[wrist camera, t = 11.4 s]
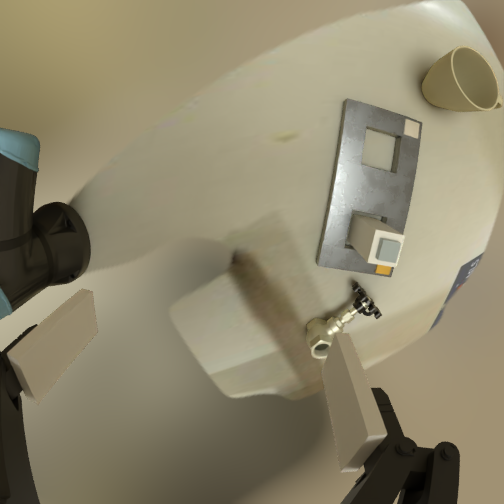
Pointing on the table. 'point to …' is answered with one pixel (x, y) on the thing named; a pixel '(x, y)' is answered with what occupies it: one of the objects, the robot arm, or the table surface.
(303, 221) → the table surface
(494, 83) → the mug
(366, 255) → the plug
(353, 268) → the grey slotted tray
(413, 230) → the table surface
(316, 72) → the table surface
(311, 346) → the valve
